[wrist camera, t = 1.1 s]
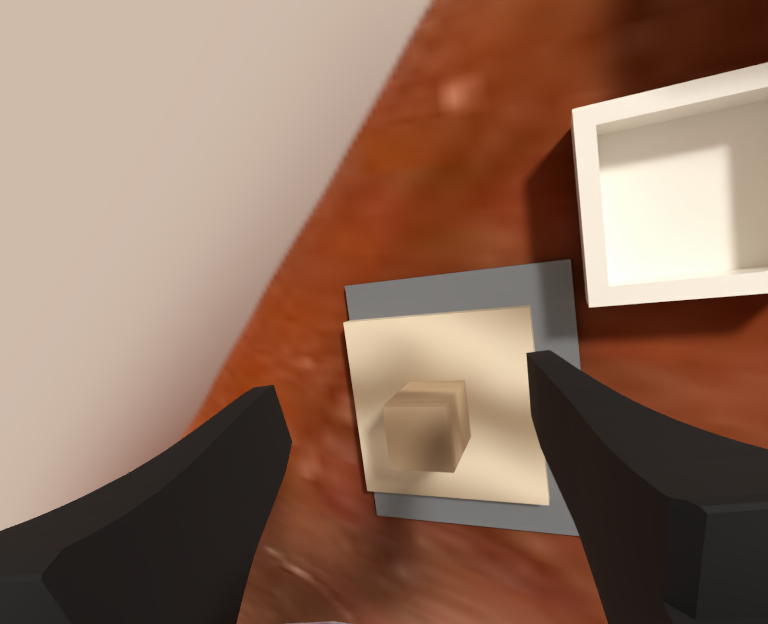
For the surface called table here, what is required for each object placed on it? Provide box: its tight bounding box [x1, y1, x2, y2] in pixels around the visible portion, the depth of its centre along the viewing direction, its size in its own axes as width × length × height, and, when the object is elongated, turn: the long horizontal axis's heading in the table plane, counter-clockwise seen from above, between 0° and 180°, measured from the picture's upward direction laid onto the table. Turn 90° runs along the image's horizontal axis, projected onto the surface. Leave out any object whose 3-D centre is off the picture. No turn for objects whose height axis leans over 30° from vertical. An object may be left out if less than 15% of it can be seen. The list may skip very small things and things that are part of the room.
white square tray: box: [571, 62, 768, 308], centre depth 18 cm, size 8×8×3 cm
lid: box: [343, 305, 549, 505], centre depth 22 cm, size 10×10×5 cm
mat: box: [345, 259, 581, 536], centre depth 24 cm, size 14×12×1 cm
